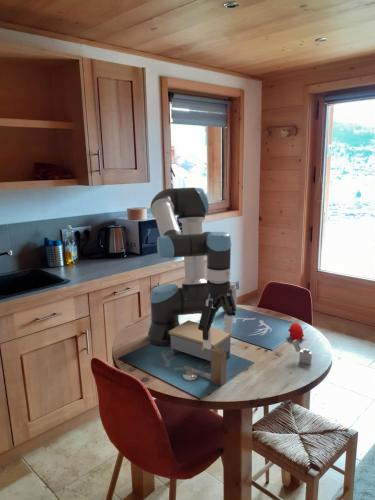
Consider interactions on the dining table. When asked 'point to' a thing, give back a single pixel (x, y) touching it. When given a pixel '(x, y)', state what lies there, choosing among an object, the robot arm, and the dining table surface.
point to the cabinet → (197, 340)
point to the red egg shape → (296, 331)
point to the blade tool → (214, 367)
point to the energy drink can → (233, 291)
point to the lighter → (303, 353)
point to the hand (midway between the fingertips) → (218, 340)
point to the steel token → (190, 375)
